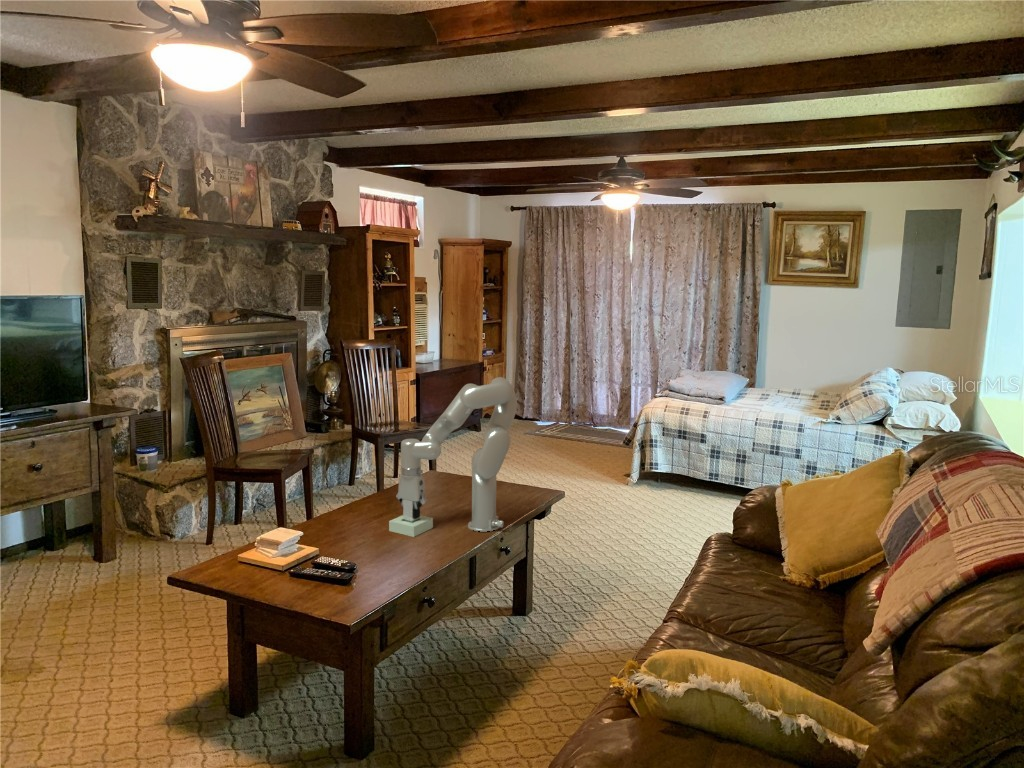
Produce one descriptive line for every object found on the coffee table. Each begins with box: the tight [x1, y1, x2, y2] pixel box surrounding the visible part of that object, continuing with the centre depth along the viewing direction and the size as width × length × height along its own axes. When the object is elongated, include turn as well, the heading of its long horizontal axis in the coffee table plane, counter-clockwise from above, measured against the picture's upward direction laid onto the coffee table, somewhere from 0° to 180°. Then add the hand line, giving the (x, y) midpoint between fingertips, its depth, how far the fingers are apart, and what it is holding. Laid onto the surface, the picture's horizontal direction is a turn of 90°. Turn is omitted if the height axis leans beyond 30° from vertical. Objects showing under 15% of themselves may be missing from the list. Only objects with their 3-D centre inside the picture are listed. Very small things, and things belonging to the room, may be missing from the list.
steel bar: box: [402, 499, 420, 523], centre depth 279 cm, size 4×4×11 cm
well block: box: [388, 514, 434, 538], centre depth 279 cm, size 12×12×4 cm
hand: (411, 516), depth 279 cm, fingers closed on steel bar, 4 cm apart
